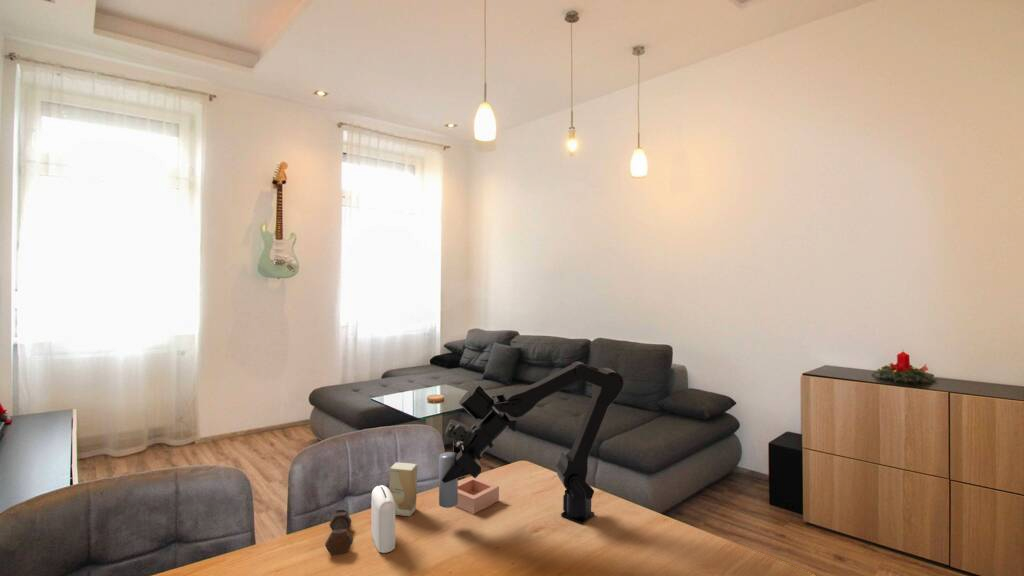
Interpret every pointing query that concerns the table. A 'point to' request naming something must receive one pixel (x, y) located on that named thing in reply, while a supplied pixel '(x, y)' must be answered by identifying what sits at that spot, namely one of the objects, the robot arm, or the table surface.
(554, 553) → the table surface
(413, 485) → the skincare box
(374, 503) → the photo printer
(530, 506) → the table surface
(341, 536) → the bolt
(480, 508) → the tray
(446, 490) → the grey dome-topped post
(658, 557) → the table surface
